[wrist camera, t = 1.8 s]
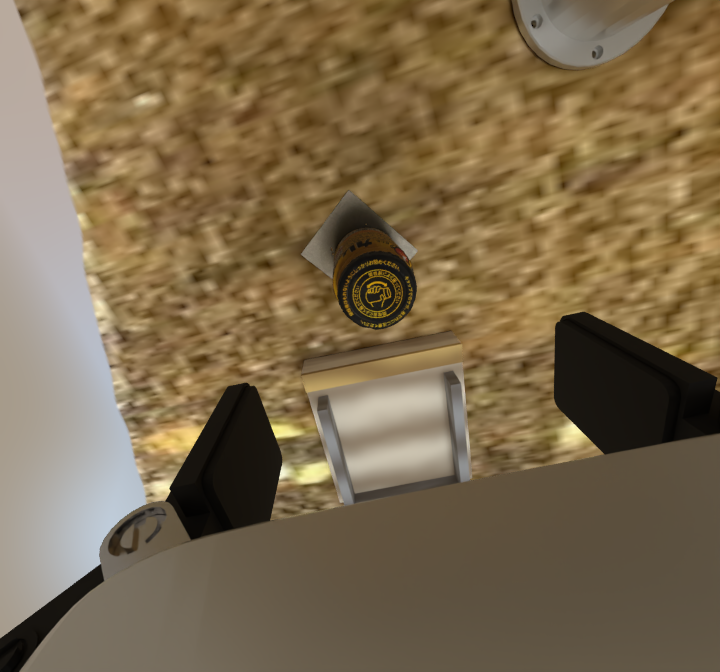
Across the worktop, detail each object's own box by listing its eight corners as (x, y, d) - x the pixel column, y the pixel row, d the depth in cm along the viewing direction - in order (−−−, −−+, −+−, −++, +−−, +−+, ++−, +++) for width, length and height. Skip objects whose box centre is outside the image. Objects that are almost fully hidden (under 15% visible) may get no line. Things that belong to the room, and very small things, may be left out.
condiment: (369, 306, 35) (382, 360, 24) (300, 254, 33) (280, 286, 22) (417, 250, 33) (456, 280, 22) (348, 189, 31) (353, 189, 20)
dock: (304, 360, 37) (296, 395, 31) (451, 330, 37) (475, 360, 30) (340, 483, 44) (340, 533, 38) (463, 459, 44) (485, 506, 37)
